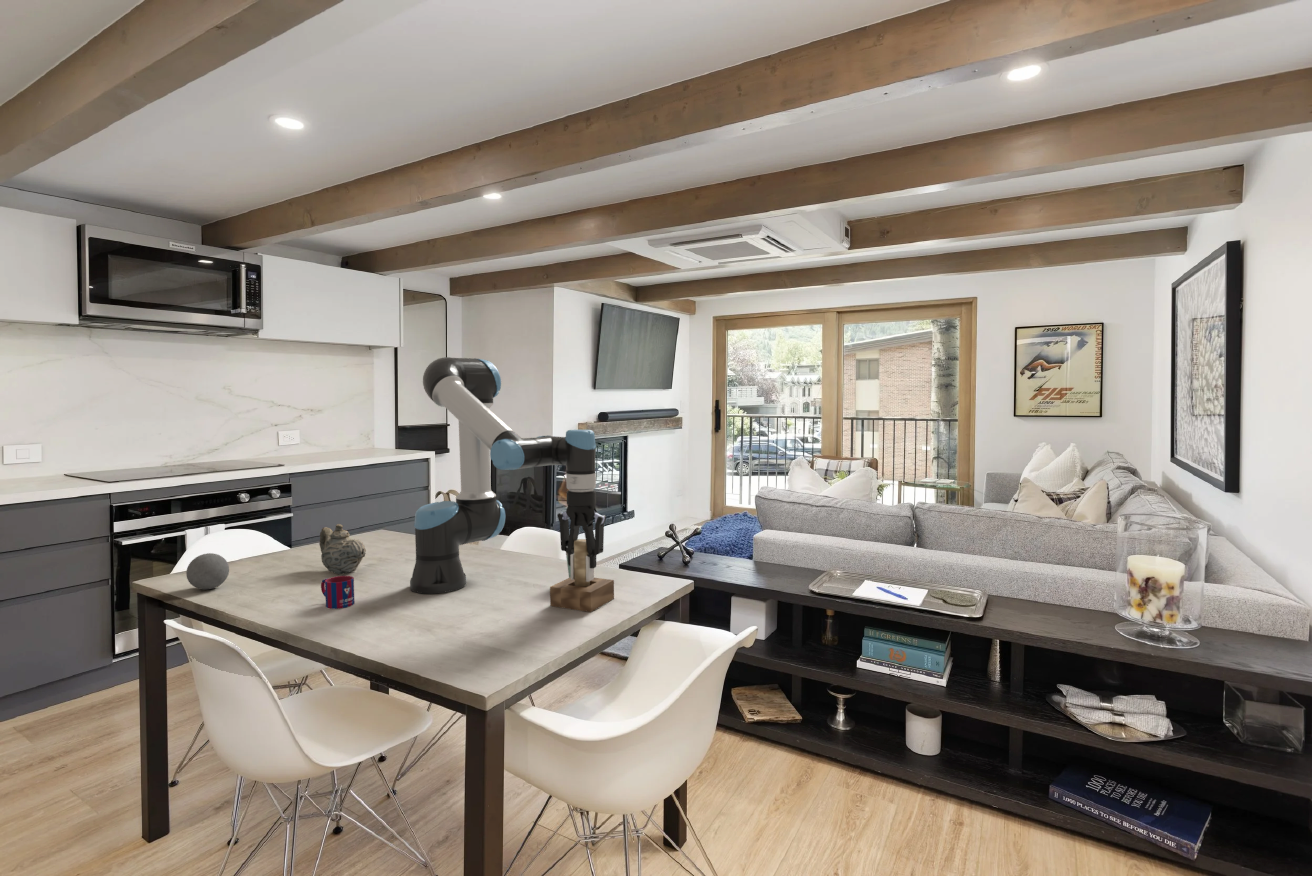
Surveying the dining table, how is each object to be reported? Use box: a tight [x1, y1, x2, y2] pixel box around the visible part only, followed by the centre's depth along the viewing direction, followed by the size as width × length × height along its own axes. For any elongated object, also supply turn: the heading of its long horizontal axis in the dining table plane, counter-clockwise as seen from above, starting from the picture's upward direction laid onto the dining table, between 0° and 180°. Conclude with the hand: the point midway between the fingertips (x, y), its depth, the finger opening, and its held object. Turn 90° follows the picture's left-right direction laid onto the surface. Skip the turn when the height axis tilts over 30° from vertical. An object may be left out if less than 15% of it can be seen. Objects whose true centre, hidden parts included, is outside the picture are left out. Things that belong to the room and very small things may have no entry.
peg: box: [574, 540, 590, 587], centre depth 171 cm, size 4×4×14 cm
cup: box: [320, 575, 355, 610], centre depth 172 cm, size 7×10×7 cm
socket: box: [549, 577, 615, 613], centre depth 172 cm, size 12×12×5 cm
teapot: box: [318, 523, 367, 575], centre depth 203 cm, size 21×12×15 cm, turn 58°
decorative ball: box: [186, 552, 230, 591], centre depth 186 cm, size 10×10×10 cm
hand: (582, 579), depth 172 cm, fingers closed on peg, 4 cm apart
